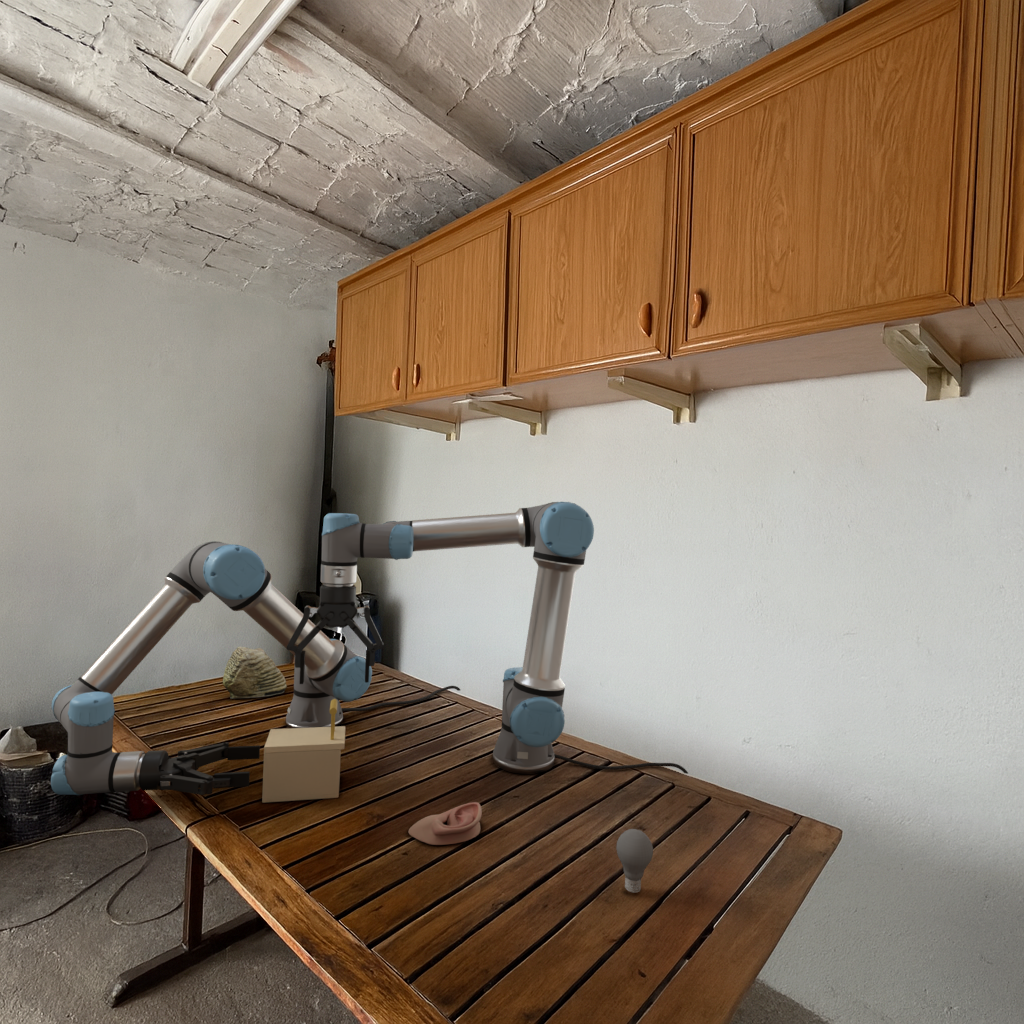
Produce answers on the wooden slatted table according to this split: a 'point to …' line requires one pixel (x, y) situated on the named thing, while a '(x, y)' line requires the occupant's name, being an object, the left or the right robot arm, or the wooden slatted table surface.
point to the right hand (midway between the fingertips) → (334, 681)
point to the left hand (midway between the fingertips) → (254, 764)
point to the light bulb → (634, 857)
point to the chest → (301, 775)
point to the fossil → (252, 674)
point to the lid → (307, 737)
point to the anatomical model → (449, 825)
